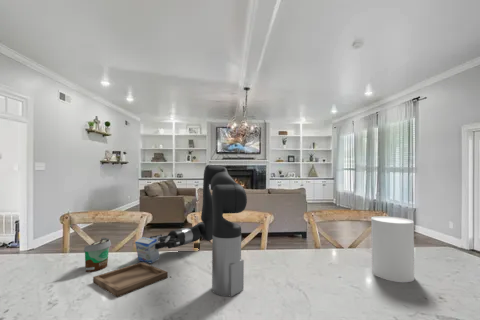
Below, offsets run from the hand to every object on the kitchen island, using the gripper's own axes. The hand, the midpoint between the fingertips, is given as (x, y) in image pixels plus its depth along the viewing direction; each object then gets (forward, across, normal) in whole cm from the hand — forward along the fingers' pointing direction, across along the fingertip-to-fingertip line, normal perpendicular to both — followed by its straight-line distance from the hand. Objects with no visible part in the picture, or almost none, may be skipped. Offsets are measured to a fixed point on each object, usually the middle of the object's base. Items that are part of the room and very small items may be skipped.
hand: (149, 244), depth 109 cm
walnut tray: (+15, +12, +7) cm, 20 cm away
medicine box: (0, 0, +6) cm, 6 cm away
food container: (+16, -8, +7) cm, 19 cm away
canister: (-47, +82, +6) cm, 95 cm away
